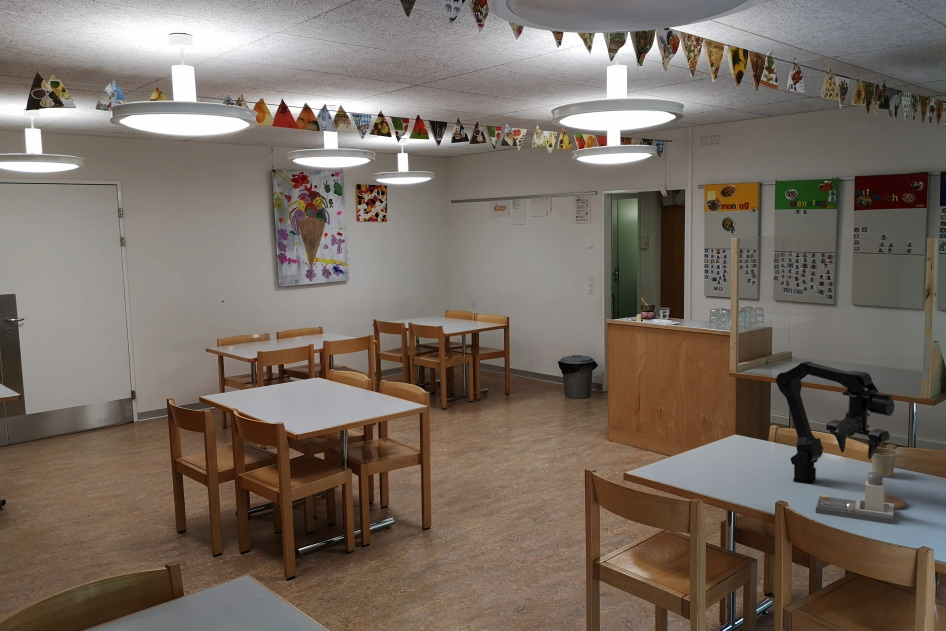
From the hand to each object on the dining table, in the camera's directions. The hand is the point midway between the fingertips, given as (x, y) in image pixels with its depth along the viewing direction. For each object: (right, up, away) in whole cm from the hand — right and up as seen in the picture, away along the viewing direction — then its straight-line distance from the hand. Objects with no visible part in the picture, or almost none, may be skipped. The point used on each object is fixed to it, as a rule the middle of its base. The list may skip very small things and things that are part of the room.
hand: (855, 455), depth 248 cm
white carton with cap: (-3, -15, -17) cm, 23 cm away
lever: (-15, -15, -16) cm, 26 cm away
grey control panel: (-8, -15, -15) cm, 22 cm away
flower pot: (+19, -11, +19) cm, 29 cm away
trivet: (+5, -14, -9) cm, 17 cm away
